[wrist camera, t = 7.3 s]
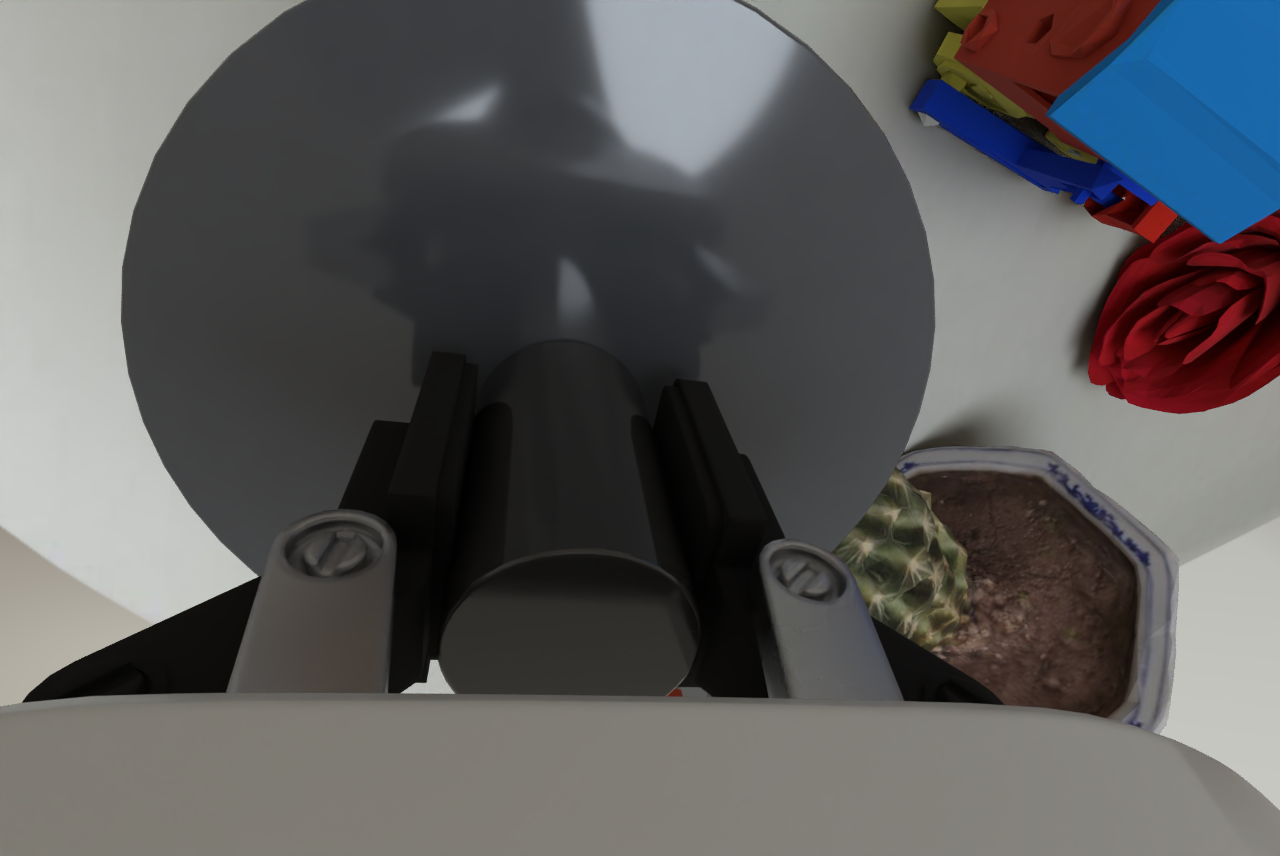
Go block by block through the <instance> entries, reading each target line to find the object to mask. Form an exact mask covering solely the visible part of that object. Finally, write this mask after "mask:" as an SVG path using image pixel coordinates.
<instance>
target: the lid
mask: <svg viewBox="0 0 1280 856" xmlns="http://www.w3.org/2000/svg"><path fill="white" fill-rule="evenodd" d="M121 325H122V332H123V339H124V346H125V353H126V360H127V367H128V374H129V377H130V381H131V384H132V387H133V390H134V394H135V397H136V400H137V403H138V407H139V410H140V413H141V417H142V420H143V423H144V425H145V427H146V429H147V431H148V433H149V435H150V437H151V440H152V442H153V444H154V446H155V448H156V450H157V452H158V454H159V456H160V459H161V461H162V463H163V465H164V467H165V468H166V470H167V471H168V473H169V474H170V476H171V478H172V479H173V481H174V482H175V484H176V485H177V487H178V488H179V490H180V491H181V493H182V494H183V496H184V497H185V499H186V500H187V502H188V504H189V505H190V507H191V508H192V509H193V510H194V511H195V512H196V514H197V515H198V516H199V517H200V518H201V519H202V521H203V522H204V523H205V524H206V525H207V526H208V528H209V529H210V530H211V531H212V532H213V533H214V535H215V536H216V537H217V538H218V539H219V541H220V542H221V543H222V544H224V545H225V546H226V547H227V548H228V549H229V550H230V551H231V552H232V553H233V554H234V555H235V556H237V557H238V558H239V559H240V560H241V561H242V562H243V563H244V564H245V565H246V566H247V567H248V568H250V569H251V570H252V571H253V572H254V573H255V574H257V575H258V576H262V574H263V571H264V567H265V564H266V561H267V558H268V554H269V551H270V548H271V546H272V544H273V542H274V540H275V539H276V537H277V535H278V534H279V533H280V532H281V531H282V530H283V529H285V528H286V527H287V526H288V525H289V524H291V523H293V522H295V521H296V520H298V519H300V518H302V517H304V516H307V515H310V514H314V513H317V512H321V511H325V510H335V509H338V507H339V505H340V502H341V500H342V497H343V495H344V492H345V490H346V487H347V485H348V483H349V480H350V478H351V475H352V473H353V470H354V468H355V465H356V463H357V461H358V458H359V456H360V453H361V451H362V448H363V446H364V443H365V441H366V438H367V436H368V434H369V431H370V429H371V426H372V424H373V422H374V421H375V420H384V421H395V422H406V423H410V421H411V417H412V414H413V411H414V408H415V405H416V402H417V399H418V395H419V392H420V389H421V386H422V383H423V380H424V377H425V373H426V370H427V367H428V364H429V361H430V358H431V355H432V352H433V351H440V352H449V353H458V354H466V363H472V364H478V375H477V388H476V402H475V416H474V423H473V429H472V435H471V442H470V448H469V454H468V460H467V466H466V472H465V478H464V484H463V490H462V496H461V502H460V508H459V514H458V521H457V527H456V533H455V539H454V545H453V551H452V557H451V563H450V569H449V575H448V578H447V580H446V586H445V592H444V598H443V604H442V610H441V616H440V622H439V628H438V635H437V642H436V649H437V658H438V662H439V666H440V669H441V671H442V673H443V676H444V678H445V680H446V682H447V683H448V684H449V686H450V687H451V689H452V690H453V691H454V692H455V693H456V694H519V695H595V696H667V695H669V694H670V693H671V692H672V691H673V690H674V689H675V688H676V687H677V686H678V685H679V684H680V683H681V682H682V681H683V680H684V678H685V677H686V676H687V675H688V673H689V671H690V670H691V668H692V667H693V665H694V663H695V661H696V658H697V656H698V654H699V650H700V646H701V642H702V632H703V626H702V618H701V613H700V610H699V606H698V602H697V598H696V594H695V591H694V587H693V583H692V579H691V575H690V572H689V568H688V564H687V560H686V556H685V552H684V549H683V545H682V541H681V537H680V533H679V530H678V526H677V522H676V518H675V514H674V511H673V507H672V503H671V499H670V495H669V491H668V488H667V484H666V480H665V476H664V472H663V469H662V465H661V461H660V457H659V453H658V450H657V446H656V442H655V438H654V434H653V426H654V422H655V418H656V414H657V409H658V405H659V401H660V396H661V393H662V389H663V387H664V386H665V385H668V386H673V384H674V382H675V380H676V379H684V380H693V381H702V382H707V383H708V385H709V387H710V389H711V391H712V394H713V396H714V398H715V400H716V403H717V405H718V407H719V410H720V412H721V414H722V416H723V419H724V421H725V423H726V425H727V428H728V430H729V432H730V434H731V437H732V439H733V441H734V444H735V446H736V448H737V450H738V453H739V454H745V455H747V457H748V458H749V460H750V461H751V464H752V466H753V468H754V470H755V472H756V475H757V477H758V479H759V481H760V483H761V485H762V488H763V490H764V492H765V494H766V496H767V499H768V501H769V503H770V505H771V507H772V509H773V512H774V514H775V516H776V518H777V520H778V522H779V525H780V527H781V529H782V531H783V533H784V536H785V538H786V539H799V540H803V541H807V542H811V543H814V544H816V545H818V546H821V547H823V548H825V549H827V550H828V551H830V552H832V551H834V550H835V549H836V548H837V547H838V545H839V544H840V543H841V542H842V541H843V540H844V539H845V538H846V536H847V535H848V534H849V533H850V532H851V531H852V530H853V528H854V527H855V526H856V525H857V524H858V523H859V522H860V520H861V519H862V518H863V517H864V515H865V514H866V512H867V511H868V510H869V508H870V507H871V505H872V504H873V502H874V501H875V500H876V498H877V497H878V495H879V494H880V493H881V491H882V490H883V488H884V487H885V485H886V483H887V482H888V480H889V478H890V476H891V474H892V472H893V470H894V469H895V467H896V465H897V463H898V461H899V459H900V458H901V456H902V454H903V452H904V450H905V448H906V445H907V443H908V440H909V437H910V435H911V432H912V430H913V427H914V425H915V422H916V420H917V417H918V415H919V412H920V408H921V404H922V400H923V396H924V393H925V389H926V385H927V381H928V377H929V373H930V367H931V358H932V349H933V341H934V332H935V301H934V277H933V272H932V266H931V260H930V254H929V249H928V243H927V237H926V231H925V228H924V225H923V222H922V219H921V216H920V213H919V210H918V207H917V204H916V201H915V198H914V195H913V192H912V189H911V186H910V183H909V181H908V179H907V177H906V175H905V173H904V171H903V169H902V167H901V165H900V163H899V161H898V160H897V158H896V156H895V154H894V152H893V150H892V148H891V146H890V144H889V142H888V140H887V138H886V136H885V134H884V133H883V131H882V130H881V129H880V127H879V126H878V125H877V123H876V122H875V120H874V119H873V118H872V116H871V115H870V114H869V112H868V111H867V109H866V108H865V107H864V105H863V104H862V103H861V101H860V100H859V98H858V97H857V96H856V94H855V93H854V92H853V90H852V89H851V88H850V87H849V86H848V85H847V84H846V83H845V82H844V81H843V80H842V79H841V78H840V77H839V76H838V75H837V74H836V73H835V72H834V71H833V70H832V69H831V68H830V67H829V66H828V65H827V64H826V63H825V62H824V61H823V60H822V59H821V58H820V57H819V56H818V55H817V54H816V53H815V52H814V51H813V50H812V49H811V48H810V47H809V46H808V45H807V44H806V43H804V42H803V41H802V40H800V39H799V38H798V37H796V36H795V35H793V34H792V33H791V32H789V31H788V30H787V29H785V28H784V27H782V26H781V25H780V24H778V23H777V22H776V21H774V20H773V19H772V18H770V17H769V16H767V15H766V14H765V13H763V12H762V11H761V10H759V9H758V8H756V7H754V6H752V5H750V4H749V3H747V2H745V1H743V0H305V1H303V2H301V3H299V4H297V5H295V6H293V7H292V8H290V9H288V10H286V11H284V12H283V13H282V14H280V15H279V16H278V17H277V18H275V19H274V20H273V21H272V22H270V23H269V24H268V25H266V26H265V27H264V28H263V29H261V30H260V31H259V32H257V33H256V34H255V35H254V36H252V37H251V38H250V39H249V40H247V41H246V42H245V43H243V44H242V45H241V46H240V47H238V48H237V49H236V50H235V51H233V52H232V53H231V54H230V55H229V56H228V57H227V58H226V59H225V61H224V62H223V63H222V64H221V65H220V66H219V67H218V68H217V70H216V71H215V72H214V73H213V74H212V75H211V76H210V77H209V78H208V80H207V81H206V82H205V83H204V84H203V85H202V86H201V87H200V89H199V90H198V91H197V92H196V93H195V94H194V95H193V96H192V97H191V99H190V100H189V101H188V102H187V104H186V105H185V107H184V109H183V110H182V112H181V113H180V115H179V117H178V118H177V120H176V122H175V123H174V125H173V126H172V128H171V130H170V131H169V133H168V135H167V136H166V138H165V139H164V141H163V143H162V144H161V146H160V148H159V149H158V151H157V152H156V154H155V156H154V159H153V161H152V164H151V167H150V169H149V172H148V174H147V177H146V179H145V182H144V184H143V187H142V190H141V192H140V195H139V197H138V200H137V202H136V205H135V208H134V210H133V215H132V220H131V225H130V230H129V235H128V240H127V245H126V250H125V256H124V261H123V266H122V301H121Z"/></svg>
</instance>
